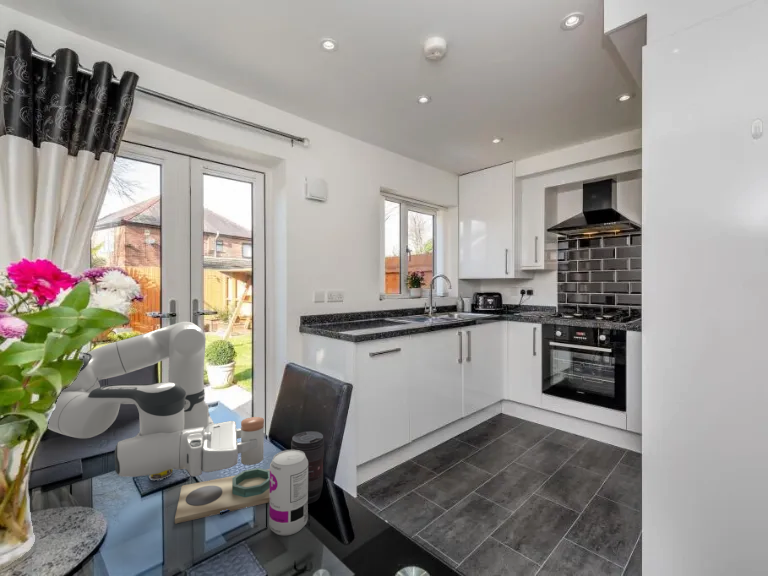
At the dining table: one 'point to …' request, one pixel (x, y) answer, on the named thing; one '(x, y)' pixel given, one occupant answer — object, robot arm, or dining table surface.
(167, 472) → the supplement bottle
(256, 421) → the lidded canister
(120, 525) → the dining table surface
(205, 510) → the seat board
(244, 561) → the dining table surface
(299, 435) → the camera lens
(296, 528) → the supplement can
